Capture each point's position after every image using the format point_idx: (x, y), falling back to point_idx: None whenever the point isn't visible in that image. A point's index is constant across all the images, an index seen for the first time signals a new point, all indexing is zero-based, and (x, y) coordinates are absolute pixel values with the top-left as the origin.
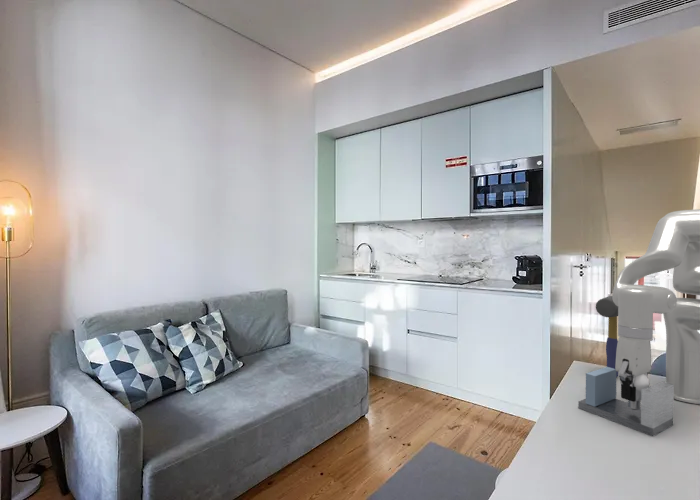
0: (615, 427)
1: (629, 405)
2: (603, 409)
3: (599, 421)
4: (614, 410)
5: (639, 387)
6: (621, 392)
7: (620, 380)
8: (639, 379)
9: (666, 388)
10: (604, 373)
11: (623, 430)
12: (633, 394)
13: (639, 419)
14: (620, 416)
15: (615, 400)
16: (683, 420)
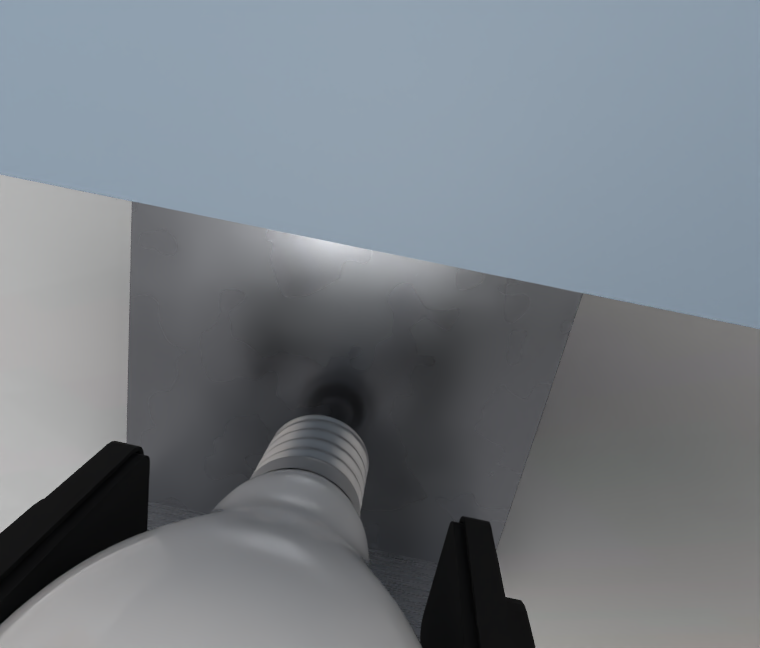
0: (74, 331)
1: (276, 437)
2: (158, 220)
3: (67, 218)
4: (227, 300)
5: None
6: (67, 484)
7: (68, 585)
8: None
9: None
10: (110, 192)
11: (77, 379)
12: None
13: (208, 477)
14: (135, 366)
15: None
16: (613, 618)
